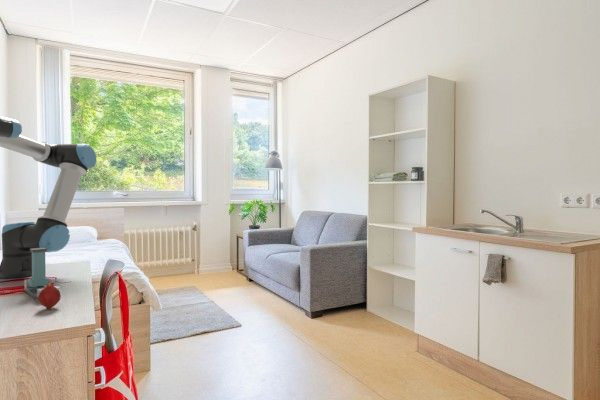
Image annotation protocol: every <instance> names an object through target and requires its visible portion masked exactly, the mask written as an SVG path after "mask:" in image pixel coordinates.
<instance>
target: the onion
mask: <svg viewBox="0 0 600 400" xmlns="http://www.w3.org/2000/svg"><path fill="white" fill-rule="evenodd" d="M46 286H47V287H45V288H44V289H42V291H41V292H40V294H39V296H38V301H39V302H38V301H37V302H38V303H39V304H40V305H41V306H43V307H45V308H46V309H48V310H50V309H53V308H54V307H55V306H56V305H57V304H58V303H59V302H60V300H61V297H62V296H61V290H60V291H59V290H58V289H57V288H56V287H54V286H55V285H52V283H50V282H49V284H47V285H46Z"/></svg>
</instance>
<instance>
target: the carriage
mask: <svg viewBox="0 0 600 400" xmlns="http://www.w3.org/2000/svg"><path fill="white" fill-rule="evenodd" d="M46 251H47V249H46V248H33V249H30V252H32V276H31V278H29V286H31V287H37V286H43V285H46V286H47V284H49V283H50V278H49V277H47V276H46V275H47V274H46V253H47V252H46Z"/></svg>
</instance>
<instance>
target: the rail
mask: <svg viewBox="0 0 600 400" xmlns="http://www.w3.org/2000/svg"><path fill="white" fill-rule="evenodd" d="M29 279H30V278H29ZM29 279H24V280H23V281H24V285H23V286H24V292H26V293H27V294H28V295H30V297H31V298H33V299H34V300H35V301H37V302H38V303H39V301H38V296H39V294H40V292H41V291H42V289H44V288H45V287H47V285H43V286H37V287H31V286H29ZM53 286H54V287H56V288H57V289H58V290H59V291H60V292H61V286H59V285H53Z"/></svg>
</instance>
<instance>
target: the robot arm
mask: <svg viewBox="0 0 600 400" xmlns="http://www.w3.org/2000/svg"><path fill="white" fill-rule="evenodd" d="M22 130H23V126H22V124H21V122H19V120H17V119H13V118H11V117H6V116H0V147H1V148H4V149H7V150H10V151H13V152H15V153H19V154H22V155H25V156H28V157H31V158H32V159H33V160H34V161H35V162H38V163H42V164H45V165H47V166H51V167H55V168H58V169H59V168H60V173H59V174H58V177H57V179H56V182H55V185H54V188H53V190H52V193H51V195H50V198H49V201H48V203H47V206H46V208H45V210H44V213H43V215H42V216H39V217H37V220H36V222H35V221H23V222H15V223H7V224H4V225H3V226H2V228H1V229H2V231H1V246H2V247H1V251H2V258H1V262H0V279H16V278H25V277H32V252H30V249H33V248H46V249H47V251H46V252H45V253H55V252H59V251H61V250H63V249H64V248H65V247H66V246H67V245H68V243H69V241H70V236H71V235H70V230H69V229H68V223H67V222H66V219H67V216H68V213H69V211H70V209H71V206H72V203H73V200H74V197H75V195H76V192H77V189H78V186H79V184H80V181H81V178H82V177H83V176H85V175H86V174H87V172H88V170H89V169H92V168H94V167H95V166H96V164H97V154H96V151H95V150H94V148H93V147H92V146H91V145H89V144H87V143H62V144H61V143H60V144H59V143H48V142H45V141H36V140H34V139H31V138H29V137H26V136H23V135H22V132H23V131H22Z"/></svg>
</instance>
